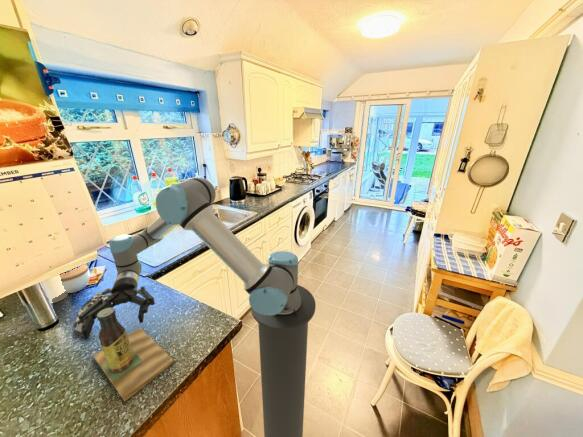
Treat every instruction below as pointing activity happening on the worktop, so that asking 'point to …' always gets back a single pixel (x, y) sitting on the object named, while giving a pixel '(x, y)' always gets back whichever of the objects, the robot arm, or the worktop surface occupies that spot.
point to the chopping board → (137, 365)
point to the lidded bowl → (75, 279)
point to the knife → (79, 327)
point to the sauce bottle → (114, 341)
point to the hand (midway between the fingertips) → (113, 327)
